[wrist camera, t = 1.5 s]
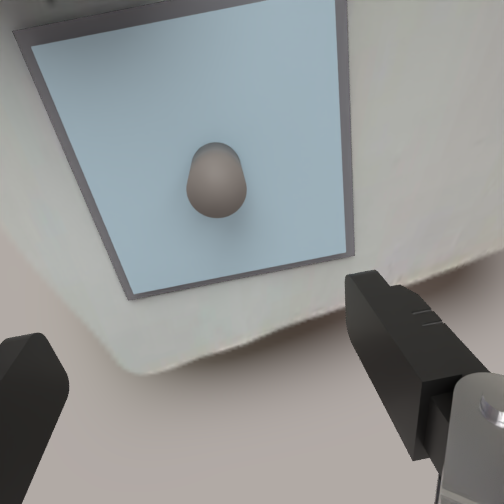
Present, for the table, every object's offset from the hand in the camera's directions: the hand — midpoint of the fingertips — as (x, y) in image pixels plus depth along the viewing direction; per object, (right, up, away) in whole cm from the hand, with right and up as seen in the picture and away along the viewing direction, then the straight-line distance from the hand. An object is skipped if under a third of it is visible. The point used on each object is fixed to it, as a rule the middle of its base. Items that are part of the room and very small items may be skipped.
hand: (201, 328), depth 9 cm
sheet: (-1, +8, +16) cm, 18 cm away
